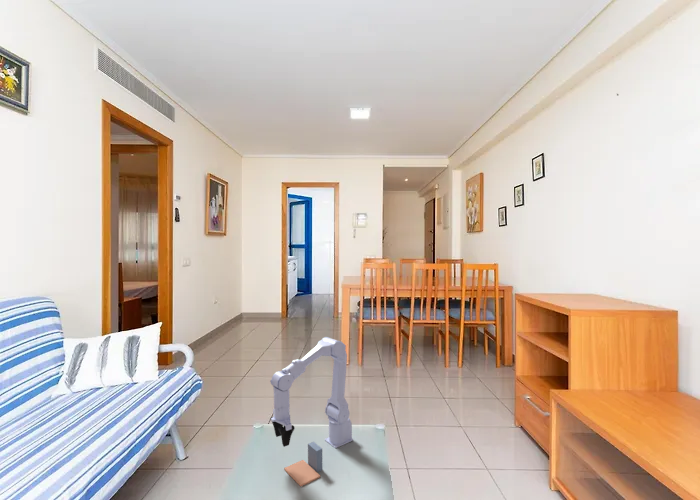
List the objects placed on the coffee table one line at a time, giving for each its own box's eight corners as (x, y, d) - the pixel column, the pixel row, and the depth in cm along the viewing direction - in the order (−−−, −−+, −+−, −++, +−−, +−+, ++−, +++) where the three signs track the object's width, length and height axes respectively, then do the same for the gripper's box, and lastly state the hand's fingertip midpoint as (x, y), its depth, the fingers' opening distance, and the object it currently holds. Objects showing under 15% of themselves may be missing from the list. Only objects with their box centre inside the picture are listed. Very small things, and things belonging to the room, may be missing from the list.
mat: (302, 461, 138) (302, 459, 138) (320, 477, 128) (320, 475, 128) (284, 469, 133) (284, 468, 133) (300, 486, 124) (300, 485, 124)
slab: (313, 462, 137) (313, 441, 137) (322, 469, 133) (322, 448, 132) (308, 464, 136) (307, 443, 136) (316, 472, 131) (316, 451, 131)
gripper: (265, 400, 138) (265, 434, 139) (278, 415, 126) (278, 453, 126) (282, 395, 142) (283, 429, 142) (296, 410, 130) (297, 447, 130)
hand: (282, 440), depth 135 cm, fingers open, 7 cm apart
